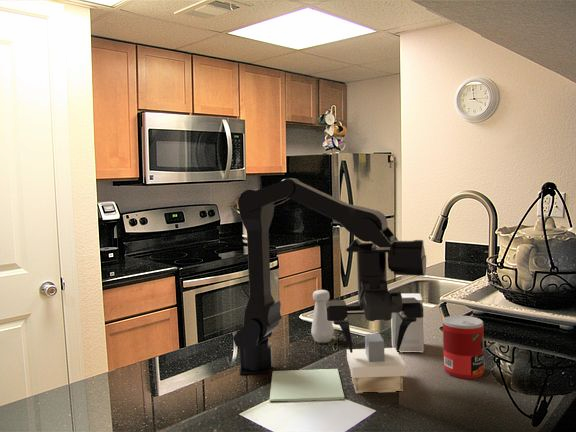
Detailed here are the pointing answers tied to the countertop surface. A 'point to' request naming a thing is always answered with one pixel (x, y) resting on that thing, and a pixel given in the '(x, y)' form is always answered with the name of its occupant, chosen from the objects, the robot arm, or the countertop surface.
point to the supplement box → (410, 330)
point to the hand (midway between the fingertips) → (374, 351)
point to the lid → (375, 359)
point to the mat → (306, 385)
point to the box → (378, 384)
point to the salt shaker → (321, 318)
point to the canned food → (463, 346)
